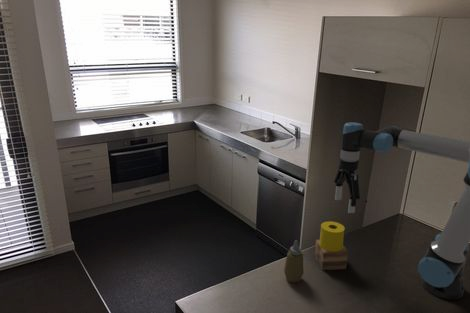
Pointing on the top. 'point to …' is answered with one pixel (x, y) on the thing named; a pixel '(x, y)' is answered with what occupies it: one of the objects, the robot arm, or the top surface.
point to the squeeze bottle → (294, 264)
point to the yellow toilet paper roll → (331, 236)
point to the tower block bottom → (330, 263)
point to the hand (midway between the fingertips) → (344, 205)
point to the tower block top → (331, 254)
